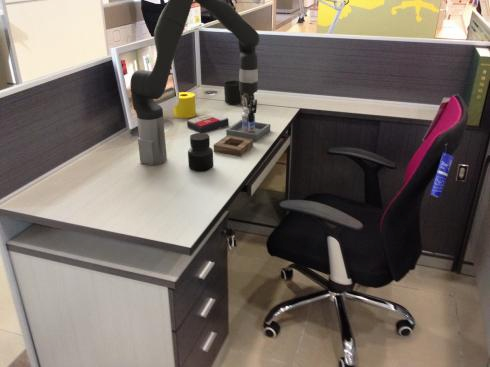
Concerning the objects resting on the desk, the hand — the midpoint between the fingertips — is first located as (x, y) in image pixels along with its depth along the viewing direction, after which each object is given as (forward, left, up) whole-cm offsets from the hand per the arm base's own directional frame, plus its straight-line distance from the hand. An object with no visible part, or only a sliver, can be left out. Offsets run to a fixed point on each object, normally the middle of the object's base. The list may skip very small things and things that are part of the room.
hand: (248, 119), depth 198 cm
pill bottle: (0, 0, -5) cm, 5 cm away
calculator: (+1, +20, -7) cm, 21 cm away
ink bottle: (-38, +1, -7) cm, 38 cm away
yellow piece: (+10, +38, -7) cm, 40 cm away
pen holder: (+37, +26, -7) cm, 46 cm away
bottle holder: (-18, -2, -6) cm, 19 cm away
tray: (0, 0, -6) cm, 6 cm away
